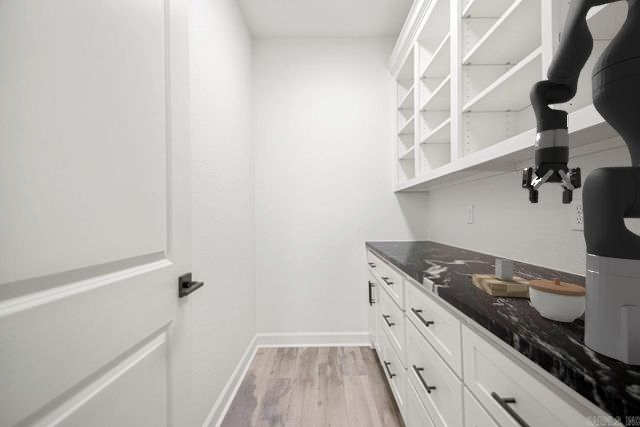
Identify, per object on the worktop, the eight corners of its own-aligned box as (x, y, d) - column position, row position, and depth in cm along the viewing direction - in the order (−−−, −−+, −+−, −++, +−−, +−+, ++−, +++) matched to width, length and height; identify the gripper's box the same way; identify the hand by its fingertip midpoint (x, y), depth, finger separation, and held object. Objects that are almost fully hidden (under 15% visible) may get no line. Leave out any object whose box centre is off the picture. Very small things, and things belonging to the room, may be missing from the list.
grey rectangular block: (512, 292, 86) (513, 260, 86) (501, 291, 86) (501, 260, 86) (506, 289, 89) (506, 258, 89) (494, 288, 90) (495, 258, 90)
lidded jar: (533, 320, 63) (534, 280, 63) (524, 306, 72) (524, 271, 72) (596, 330, 58) (597, 286, 58) (577, 314, 67) (578, 276, 67)
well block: (542, 298, 80) (542, 286, 80) (491, 295, 82) (492, 283, 82) (514, 285, 94) (514, 275, 94) (471, 283, 96) (472, 273, 96)
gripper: (533, 145, 76) (532, 202, 76) (589, 144, 74) (588, 203, 74) (517, 151, 83) (516, 203, 83) (568, 150, 82) (567, 204, 82)
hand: (550, 203), depth 79 cm, fingers open, 8 cm apart
